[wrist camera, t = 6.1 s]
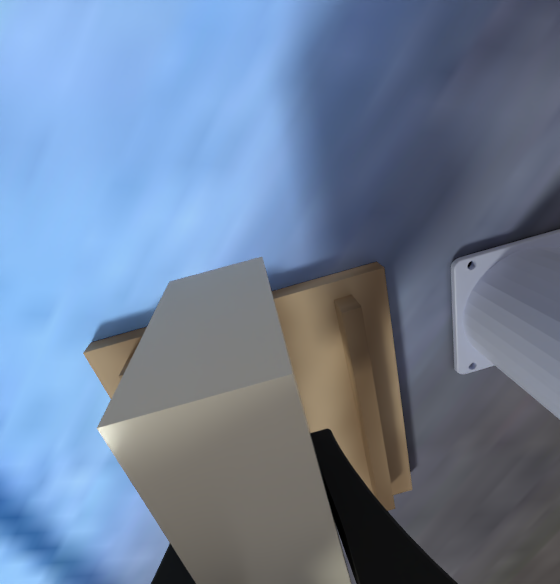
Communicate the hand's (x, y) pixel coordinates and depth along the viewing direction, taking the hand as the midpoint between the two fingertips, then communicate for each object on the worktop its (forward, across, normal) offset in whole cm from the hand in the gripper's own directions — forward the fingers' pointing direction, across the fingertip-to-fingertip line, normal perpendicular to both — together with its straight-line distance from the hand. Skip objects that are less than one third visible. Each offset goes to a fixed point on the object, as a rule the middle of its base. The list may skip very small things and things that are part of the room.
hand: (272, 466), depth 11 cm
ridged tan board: (+9, 0, +7) cm, 11 cm away
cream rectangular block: (+2, 0, 0) cm, 2 cm away
